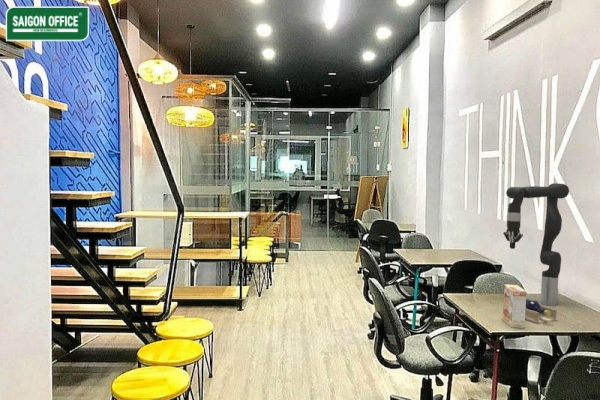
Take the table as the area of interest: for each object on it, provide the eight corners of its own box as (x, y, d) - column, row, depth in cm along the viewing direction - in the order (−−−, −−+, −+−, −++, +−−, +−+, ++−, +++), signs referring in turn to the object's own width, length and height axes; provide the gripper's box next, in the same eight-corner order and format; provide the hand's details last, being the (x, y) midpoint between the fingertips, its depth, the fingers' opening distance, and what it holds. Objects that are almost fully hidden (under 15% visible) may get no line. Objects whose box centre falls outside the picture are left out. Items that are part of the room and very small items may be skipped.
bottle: (506, 307, 294) (538, 318, 265) (511, 292, 295) (544, 301, 266) (519, 312, 296) (553, 324, 266) (524, 298, 297) (559, 307, 267)
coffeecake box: (502, 319, 275) (503, 284, 274) (515, 320, 274) (517, 284, 273) (510, 327, 260) (512, 290, 259) (525, 328, 259) (527, 291, 258)
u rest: (534, 314, 288) (534, 303, 287) (556, 320, 275) (556, 309, 275) (514, 316, 280) (515, 306, 280) (536, 323, 268) (537, 312, 268)
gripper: (527, 221, 299) (525, 250, 300) (509, 219, 310) (507, 246, 311) (518, 221, 295) (517, 250, 296) (500, 219, 307) (499, 247, 308)
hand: (512, 248), depth 304 cm, fingers closed
